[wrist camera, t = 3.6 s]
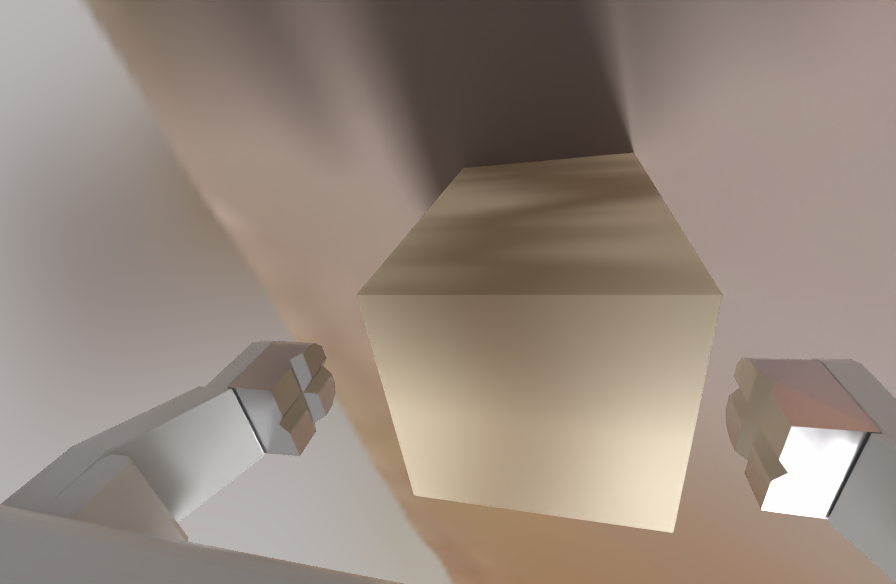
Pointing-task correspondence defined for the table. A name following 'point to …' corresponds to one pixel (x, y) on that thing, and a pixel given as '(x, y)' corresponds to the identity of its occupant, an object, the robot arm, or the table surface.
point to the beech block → (546, 342)
